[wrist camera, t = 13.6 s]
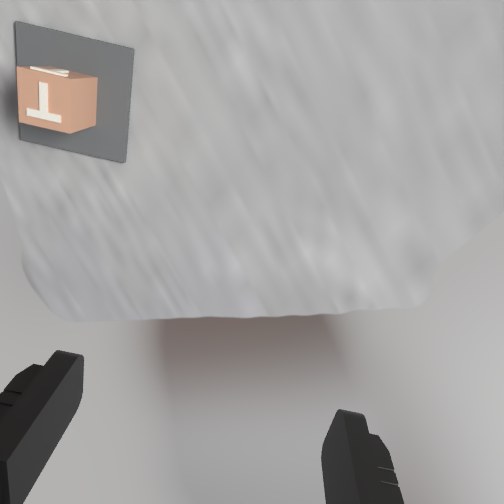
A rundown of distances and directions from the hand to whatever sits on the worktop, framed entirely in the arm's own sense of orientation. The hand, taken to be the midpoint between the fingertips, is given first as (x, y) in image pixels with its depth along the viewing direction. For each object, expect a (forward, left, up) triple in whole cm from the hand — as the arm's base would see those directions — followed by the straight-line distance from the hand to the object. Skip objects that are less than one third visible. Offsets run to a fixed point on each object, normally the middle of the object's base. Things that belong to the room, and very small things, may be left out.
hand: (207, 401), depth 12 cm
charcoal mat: (-2, -21, -36) cm, 42 cm away
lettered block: (-2, -21, -36) cm, 41 cm away
